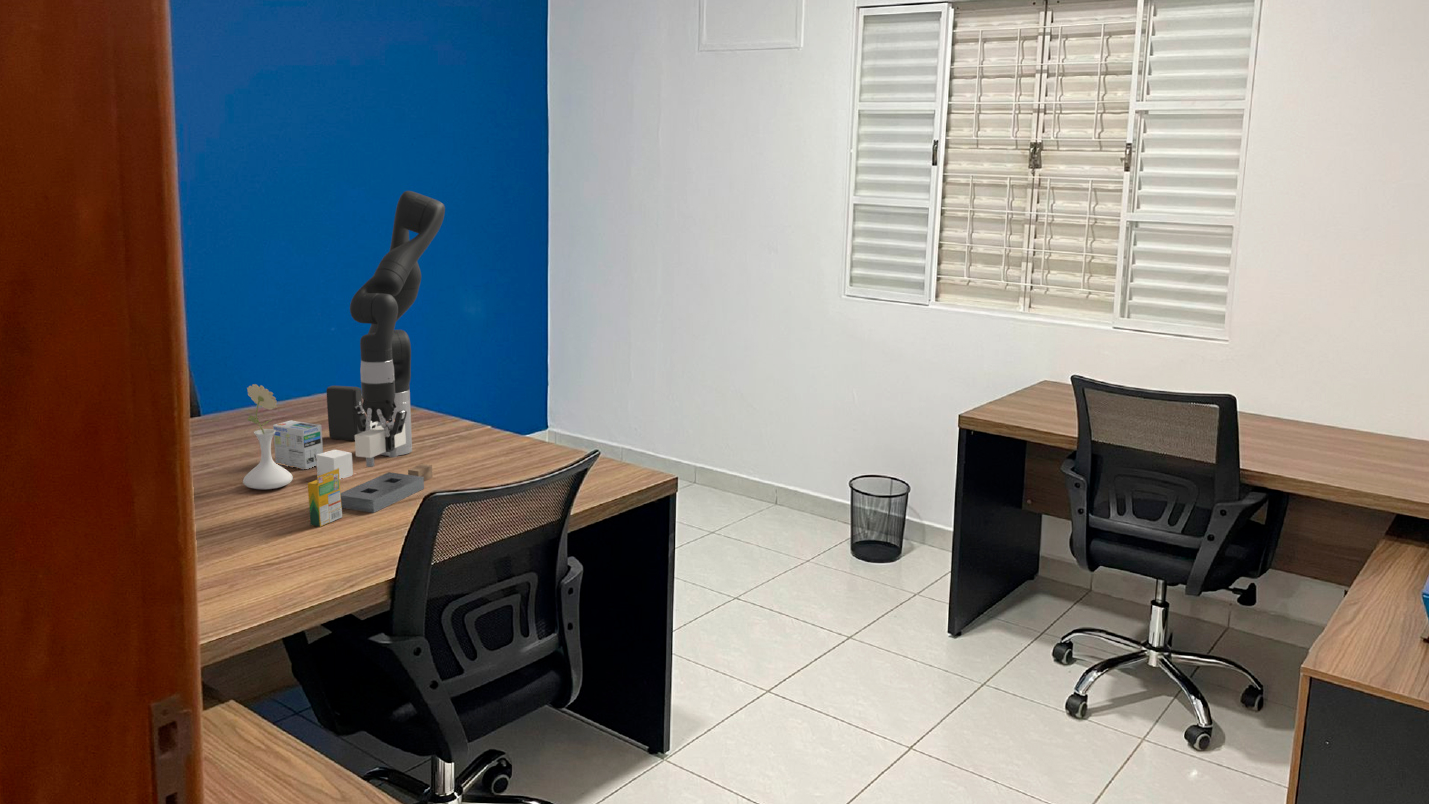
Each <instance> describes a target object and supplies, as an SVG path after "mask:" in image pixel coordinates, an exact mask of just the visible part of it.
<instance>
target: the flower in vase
mask: <svg viewBox="0 0 1429 804" xmlns="http://www.w3.org/2000/svg"><path fill="white" fill-rule="evenodd" d="M246 389H247V395H248V397H250V398H251V400H252V401H253V402H254V404H256V407H255V408H256V409H255V414H254V415H255V416H254V415H252V414H249V415H248V418H247V421H248V422H252V423H254V424H256V425H257V424H258V426H259V428H260V429H257V430H255V431H253V434H254V435H255V437H256V438H257V440H258V442H259V447H260V453H261V456H260V461H259V463H258V464H257V465H256V466H255V467H254V468H252V469H251V470H250V471H249V472H248V473H246V475H245V476H244V477H243V480H242V484H243V485H244V486H245V487H246V488H250V489H253V490H272V489H278V488H282V487H284V486H286V485H289V484H290V483H291V482H292V481H293V479H294V478H293V477H294V476H293V475H292V473H291V472H290V471H289V470H287V469H285V467H284V466H282V465H278V464H276V461H274V459H273V457H272V456H273V455H272V442H273V441H272V440H273V438H274V433H275V432H276V430H273V428H263V426H265V425H267V424H269V422H271V421H272V420H273V418H270V419H269V420H266V421H264V422H263V423H262V424H261V423H260V421H259V419H258V410H259V407H261V408H263V409H265V410H267V409H268V410H270V411H271V410H274V409H277V408H278V406H277V403H278V402H277V400H276V399H277V398H276V397H275V396H273V395H274V393H273V392H272V391H269V389H267V388H265V387H264V386H263V385H261V384H260V386H259V385H258V384H256V383H254V384H252V385H249V386H248V387H246Z"/></svg>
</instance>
